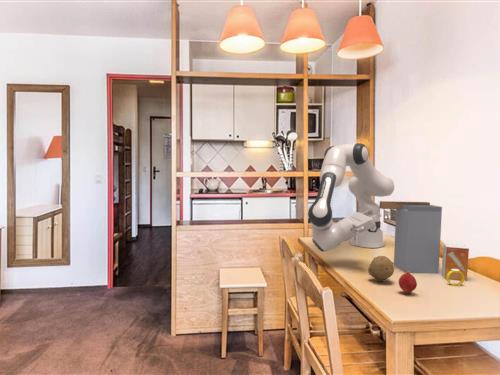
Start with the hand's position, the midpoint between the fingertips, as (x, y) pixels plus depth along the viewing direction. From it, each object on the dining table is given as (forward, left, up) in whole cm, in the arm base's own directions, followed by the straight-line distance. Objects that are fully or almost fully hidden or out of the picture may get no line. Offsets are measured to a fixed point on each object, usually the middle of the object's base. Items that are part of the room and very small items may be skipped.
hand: (375, 212), depth 161 cm
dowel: (0, +13, +2) cm, 13 cm away
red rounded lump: (+34, -1, -24) cm, 42 cm away
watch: (+24, +22, -24) cm, 41 cm away
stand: (+3, +17, -24) cm, 30 cm away
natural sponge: (+21, -5, -24) cm, 32 cm away
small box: (+15, +27, -24) cm, 39 cm away
